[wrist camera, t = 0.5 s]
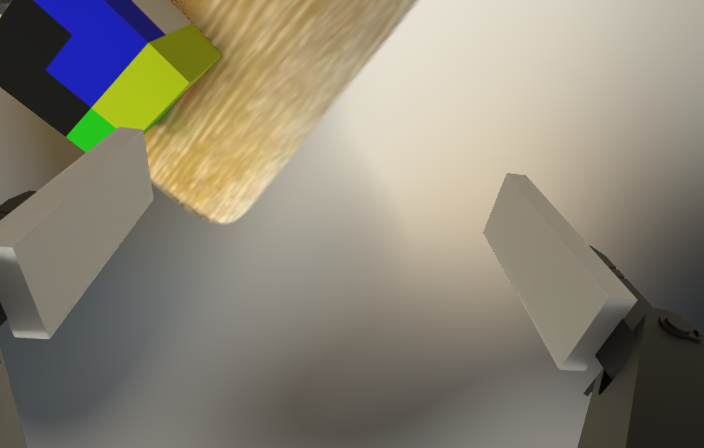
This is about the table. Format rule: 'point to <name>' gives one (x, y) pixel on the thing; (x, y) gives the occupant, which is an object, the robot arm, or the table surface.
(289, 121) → the table surface
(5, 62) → the puzzle toy
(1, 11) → the post
